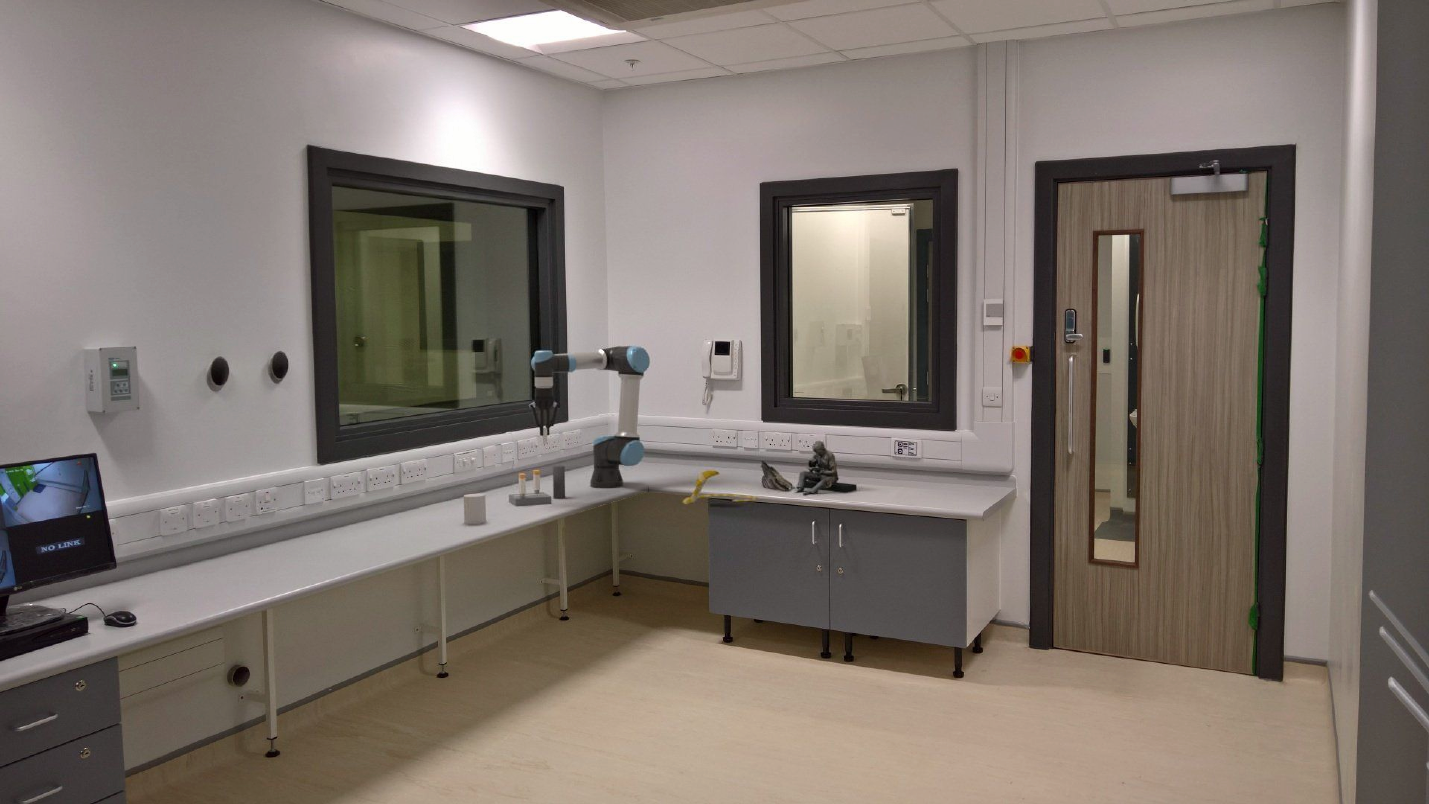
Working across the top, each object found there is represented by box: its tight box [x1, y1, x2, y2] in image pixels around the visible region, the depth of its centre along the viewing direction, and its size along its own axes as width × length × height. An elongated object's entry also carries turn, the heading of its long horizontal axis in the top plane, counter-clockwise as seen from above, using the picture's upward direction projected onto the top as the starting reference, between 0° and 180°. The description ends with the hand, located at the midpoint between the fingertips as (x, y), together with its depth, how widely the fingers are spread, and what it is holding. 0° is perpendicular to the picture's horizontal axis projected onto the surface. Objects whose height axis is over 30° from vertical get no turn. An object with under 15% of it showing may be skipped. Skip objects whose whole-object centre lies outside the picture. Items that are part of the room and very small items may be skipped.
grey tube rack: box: [508, 491, 552, 507], centre depth 424 cm, size 15×13×3 cm
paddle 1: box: [518, 472, 527, 497], centre depth 419 cm, size 2×4×10 cm, turn 23°
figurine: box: [794, 440, 858, 496], centre depth 438 cm, size 25×24×24 cm
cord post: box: [552, 465, 566, 500], centre depth 434 cm, size 5×5×14 cm
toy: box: [682, 469, 759, 505], centre depth 420 cm, size 29×28×15 cm
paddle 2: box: [532, 469, 541, 493], centre depth 429 cm, size 2×4×10 cm, turn 23°
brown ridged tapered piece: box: [760, 460, 793, 492], centre depth 454 cm, size 22×9×28 cm
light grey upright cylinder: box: [463, 493, 487, 525], centre depth 387 cm, size 8×8×12 cm
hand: (544, 443), depth 422 cm, fingers closed
